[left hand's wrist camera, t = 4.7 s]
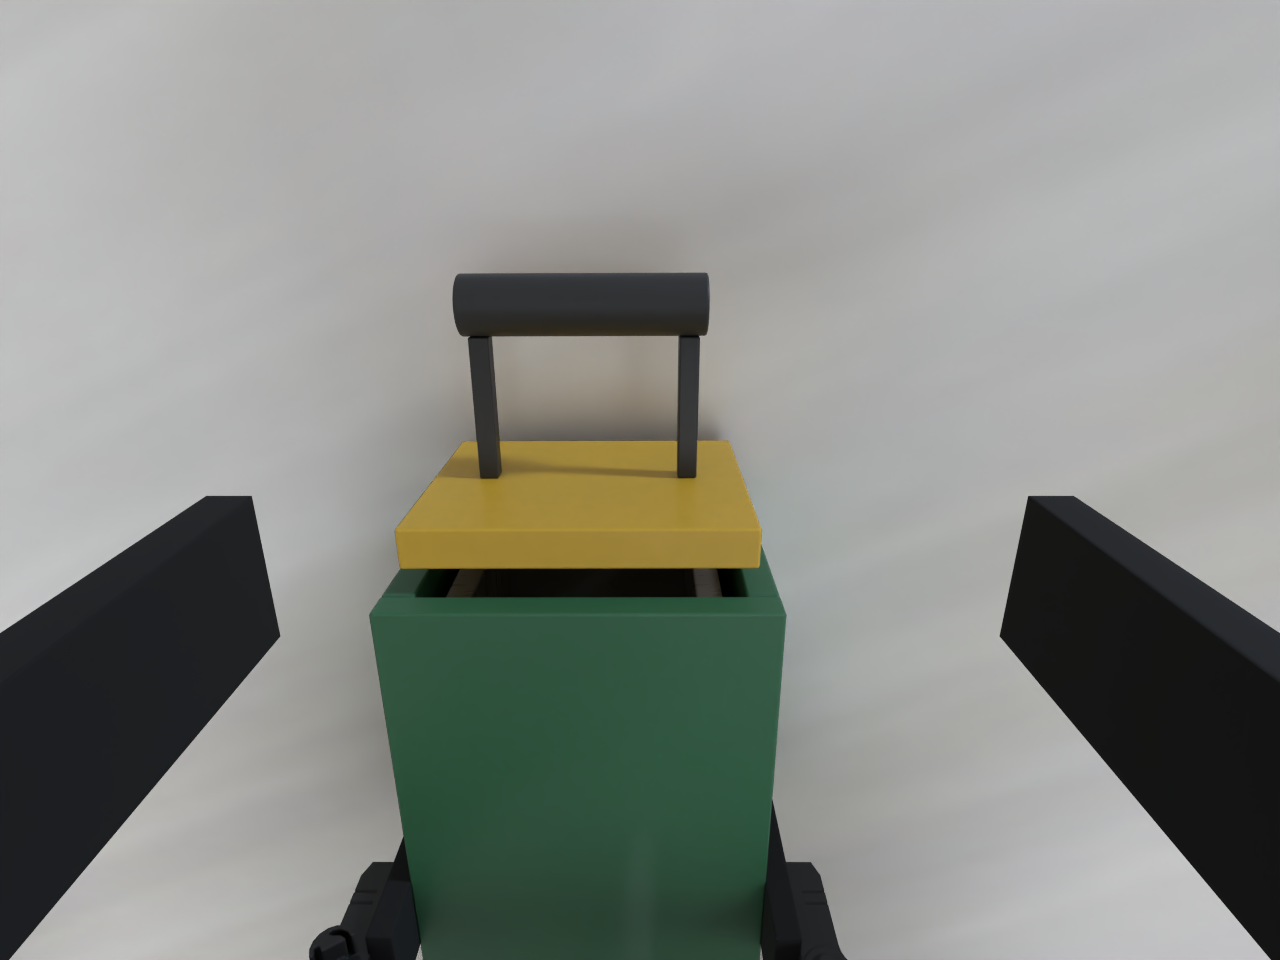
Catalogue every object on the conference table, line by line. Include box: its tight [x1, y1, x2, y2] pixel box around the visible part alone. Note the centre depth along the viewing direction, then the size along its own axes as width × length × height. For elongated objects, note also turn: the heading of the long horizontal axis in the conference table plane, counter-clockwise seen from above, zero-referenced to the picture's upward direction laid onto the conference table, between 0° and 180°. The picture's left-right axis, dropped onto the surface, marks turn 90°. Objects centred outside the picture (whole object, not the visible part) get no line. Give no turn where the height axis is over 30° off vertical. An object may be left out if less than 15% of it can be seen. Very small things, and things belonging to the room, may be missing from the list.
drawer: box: [395, 273, 762, 598], centre depth 24 cm, size 20×10×8 cm, turn 0°
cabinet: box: [369, 545, 786, 960], centre depth 26 cm, size 15×11×10 cm
